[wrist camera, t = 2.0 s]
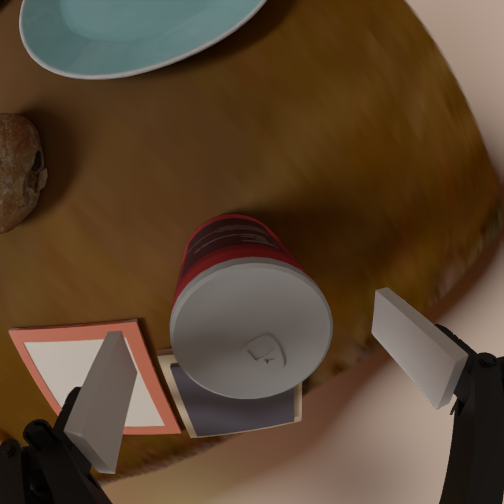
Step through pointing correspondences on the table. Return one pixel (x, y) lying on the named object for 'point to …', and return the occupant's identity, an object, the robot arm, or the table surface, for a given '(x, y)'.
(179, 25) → the plate
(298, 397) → the ink pad
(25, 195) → the bread roll
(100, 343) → the print sheet
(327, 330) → the canned food
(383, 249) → the table surface
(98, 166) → the table surface
